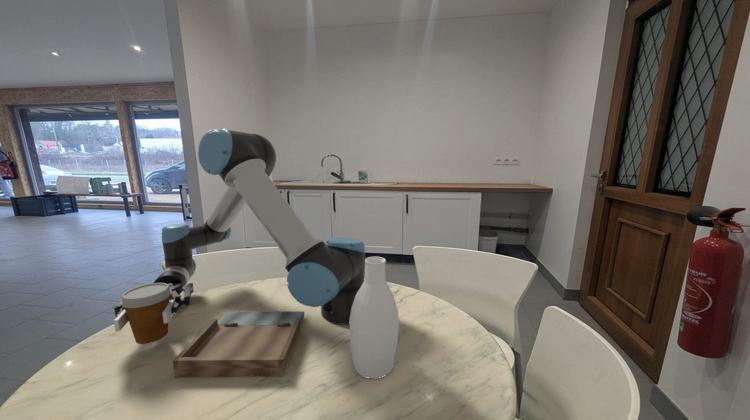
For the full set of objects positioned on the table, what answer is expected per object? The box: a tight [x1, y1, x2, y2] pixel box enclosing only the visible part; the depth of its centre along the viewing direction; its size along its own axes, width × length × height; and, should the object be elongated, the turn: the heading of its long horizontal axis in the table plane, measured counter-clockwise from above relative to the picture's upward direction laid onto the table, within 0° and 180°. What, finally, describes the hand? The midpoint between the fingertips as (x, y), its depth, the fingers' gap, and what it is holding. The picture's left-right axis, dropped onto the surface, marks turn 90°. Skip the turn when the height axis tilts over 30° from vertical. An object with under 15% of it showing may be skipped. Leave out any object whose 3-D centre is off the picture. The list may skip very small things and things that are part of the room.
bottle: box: [349, 255, 400, 378], centre depth 61 cm, size 11×11×25 cm
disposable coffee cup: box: [119, 282, 172, 345], centre depth 67 cm, size 10×10×12 cm
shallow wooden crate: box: [172, 310, 305, 378], centre depth 70 cm, size 23×23×4 cm
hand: (141, 321), depth 62 cm, fingers closed on disposable coffee cup, 8 cm apart
